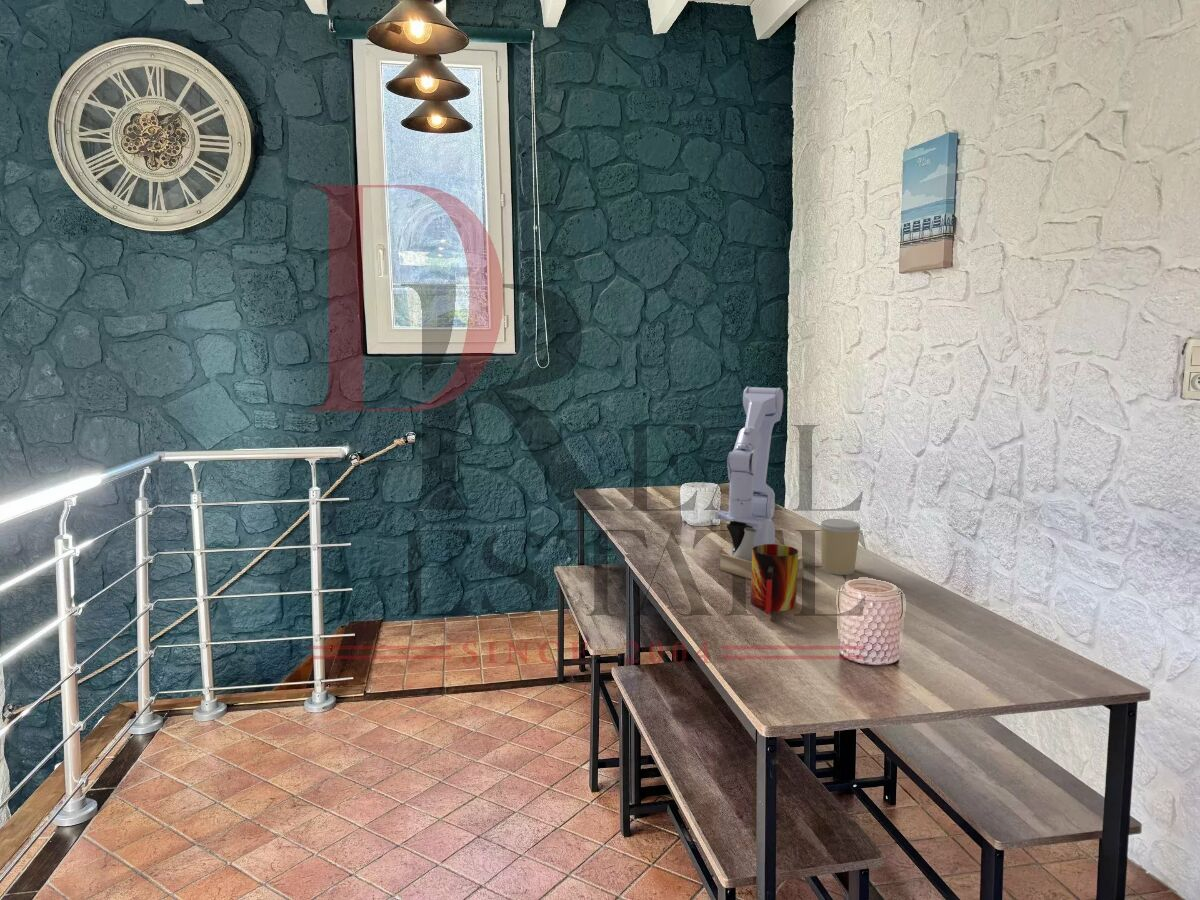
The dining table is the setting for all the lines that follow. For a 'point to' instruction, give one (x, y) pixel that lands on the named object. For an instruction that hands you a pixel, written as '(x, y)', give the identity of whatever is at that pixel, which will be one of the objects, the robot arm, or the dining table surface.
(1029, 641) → the dining table surface
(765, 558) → the mug
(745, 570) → the lane
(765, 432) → the robot arm
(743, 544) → the flask
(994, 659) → the dining table surface
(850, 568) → the coffee cup
